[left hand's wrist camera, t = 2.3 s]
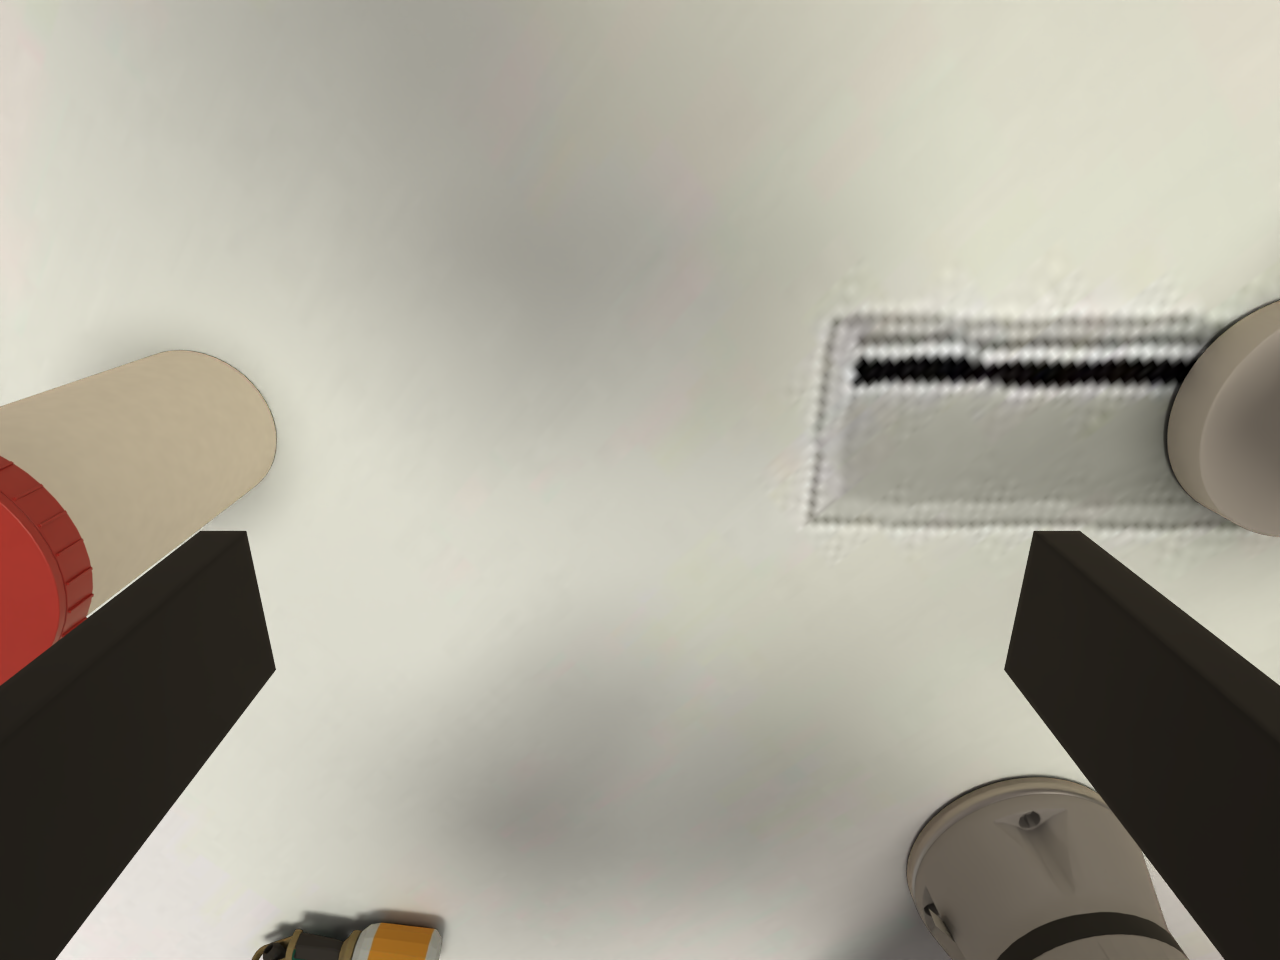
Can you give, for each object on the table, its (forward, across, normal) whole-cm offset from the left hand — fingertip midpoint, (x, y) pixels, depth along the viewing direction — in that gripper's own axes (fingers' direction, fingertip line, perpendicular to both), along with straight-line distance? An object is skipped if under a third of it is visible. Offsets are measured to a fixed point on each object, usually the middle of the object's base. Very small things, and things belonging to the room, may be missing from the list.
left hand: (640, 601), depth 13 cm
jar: (+28, -24, -6) cm, 37 cm away
